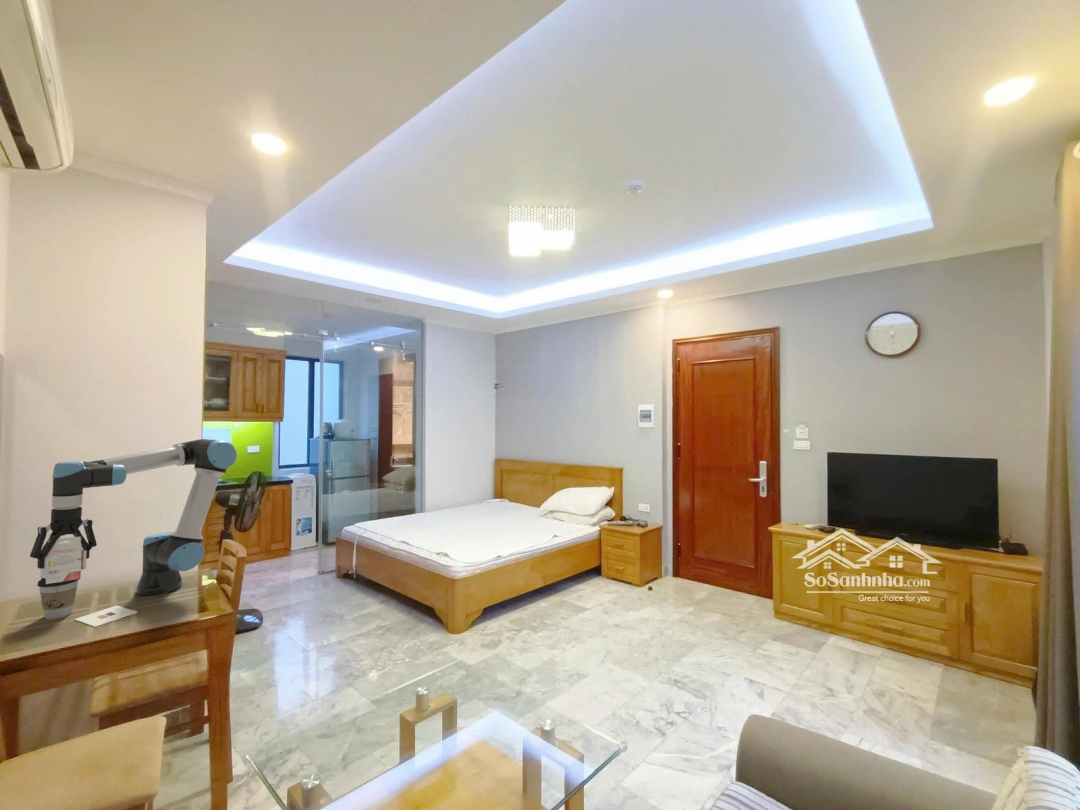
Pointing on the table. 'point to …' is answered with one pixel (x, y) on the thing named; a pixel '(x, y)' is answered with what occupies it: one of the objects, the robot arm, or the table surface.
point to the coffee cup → (57, 598)
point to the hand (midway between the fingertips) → (63, 572)
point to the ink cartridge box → (64, 560)
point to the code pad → (105, 616)
